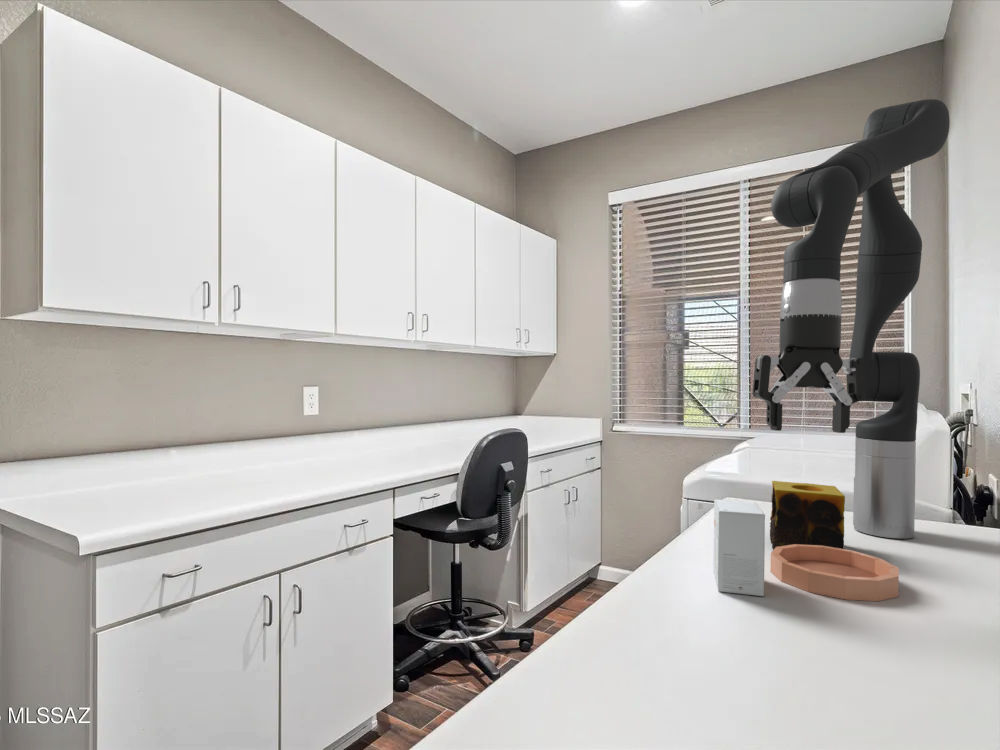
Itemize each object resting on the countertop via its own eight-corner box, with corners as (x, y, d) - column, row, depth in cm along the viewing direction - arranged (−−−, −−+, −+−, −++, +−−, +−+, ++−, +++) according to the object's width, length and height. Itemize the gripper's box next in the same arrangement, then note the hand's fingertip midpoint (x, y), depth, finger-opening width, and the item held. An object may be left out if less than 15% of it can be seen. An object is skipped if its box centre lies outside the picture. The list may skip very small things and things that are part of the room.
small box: (764, 598, 71) (766, 514, 71) (716, 592, 73) (718, 510, 73) (755, 577, 79) (756, 501, 79) (712, 572, 80) (714, 498, 81)
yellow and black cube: (772, 551, 91) (773, 489, 91) (768, 535, 101) (769, 479, 101) (845, 560, 87) (846, 495, 88) (834, 543, 97) (835, 484, 97)
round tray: (756, 559, 87) (757, 542, 87) (860, 564, 85) (860, 547, 85) (798, 596, 72) (799, 576, 72) (925, 603, 70) (925, 582, 70)
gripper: (848, 319, 82) (845, 431, 82) (747, 317, 83) (744, 427, 83) (879, 313, 75) (876, 435, 75) (768, 310, 76) (765, 431, 76)
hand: (807, 431), depth 79 cm, fingers open, 8 cm apart
